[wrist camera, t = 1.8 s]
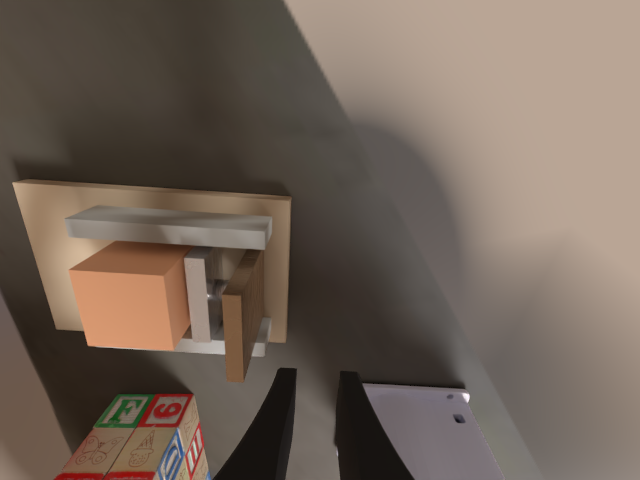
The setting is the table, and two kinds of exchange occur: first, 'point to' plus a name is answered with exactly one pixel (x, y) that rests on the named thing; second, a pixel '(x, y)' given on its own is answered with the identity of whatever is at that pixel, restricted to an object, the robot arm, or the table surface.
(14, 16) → the table surface
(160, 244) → the terracotta block
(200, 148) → the table surface
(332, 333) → the table surface
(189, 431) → the stack of blocks
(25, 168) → the table surface
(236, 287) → the sliding carriage
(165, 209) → the channel deck
